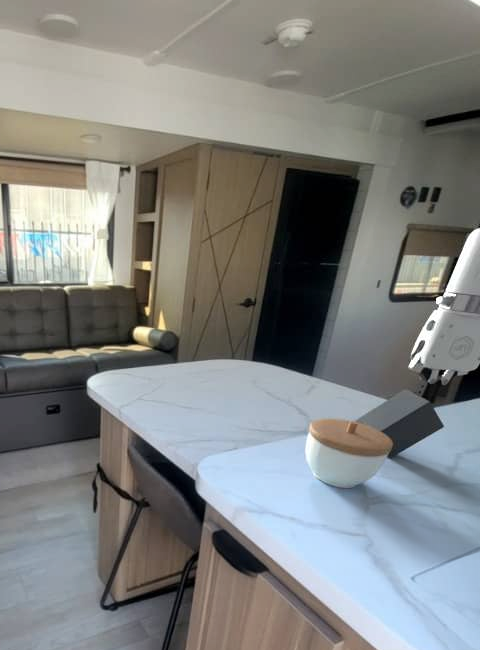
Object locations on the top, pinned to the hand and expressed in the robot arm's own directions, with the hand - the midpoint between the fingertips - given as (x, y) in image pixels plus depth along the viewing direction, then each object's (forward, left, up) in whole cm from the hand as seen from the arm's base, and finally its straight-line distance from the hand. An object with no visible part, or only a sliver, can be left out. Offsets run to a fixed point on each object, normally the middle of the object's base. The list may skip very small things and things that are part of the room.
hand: (423, 401), depth 80 cm
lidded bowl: (+20, +12, -12) cm, 26 cm away
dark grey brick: (+1, 0, -8) cm, 8 cm away
